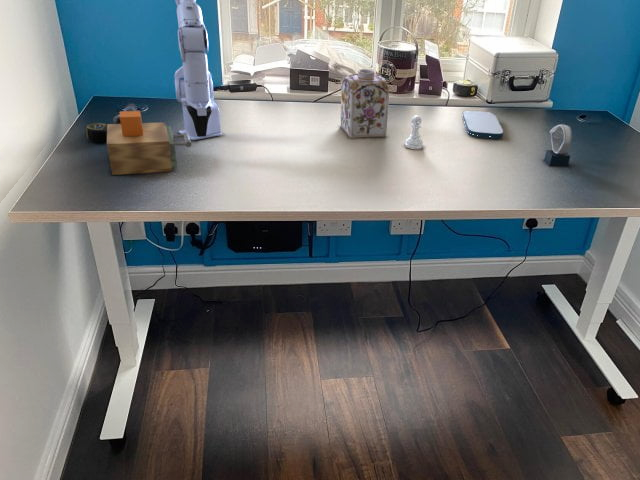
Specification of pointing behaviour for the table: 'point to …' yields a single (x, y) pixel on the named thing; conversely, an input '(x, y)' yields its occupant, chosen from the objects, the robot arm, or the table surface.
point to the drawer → (176, 144)
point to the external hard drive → (482, 124)
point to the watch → (559, 153)
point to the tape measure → (96, 132)
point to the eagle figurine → (128, 108)
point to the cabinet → (139, 150)
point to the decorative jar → (364, 105)
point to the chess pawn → (414, 135)
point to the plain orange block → (131, 123)
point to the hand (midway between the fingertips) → (201, 135)
